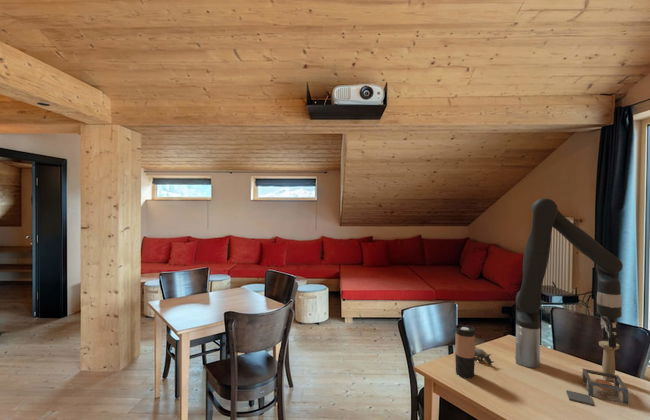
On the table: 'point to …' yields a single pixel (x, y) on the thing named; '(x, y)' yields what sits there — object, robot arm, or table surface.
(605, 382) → the button
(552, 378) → the table surface
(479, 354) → the rhino figurine
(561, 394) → the table surface
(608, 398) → the guard frame
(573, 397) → the rubber mat
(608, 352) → the handle
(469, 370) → the travel mug
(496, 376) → the table surface
